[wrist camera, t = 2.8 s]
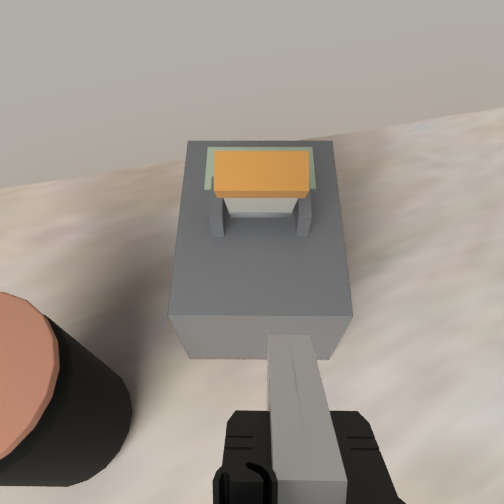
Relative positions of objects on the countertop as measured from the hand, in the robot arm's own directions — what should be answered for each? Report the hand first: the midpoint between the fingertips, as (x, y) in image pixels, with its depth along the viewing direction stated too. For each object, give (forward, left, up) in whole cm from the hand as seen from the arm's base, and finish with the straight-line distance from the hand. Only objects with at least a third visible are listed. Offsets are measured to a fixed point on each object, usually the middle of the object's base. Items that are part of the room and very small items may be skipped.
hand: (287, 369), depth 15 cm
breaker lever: (-1, +17, -13) cm, 22 cm away
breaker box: (-1, +17, -26) cm, 31 cm away
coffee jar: (-18, +2, -26) cm, 32 cm away
